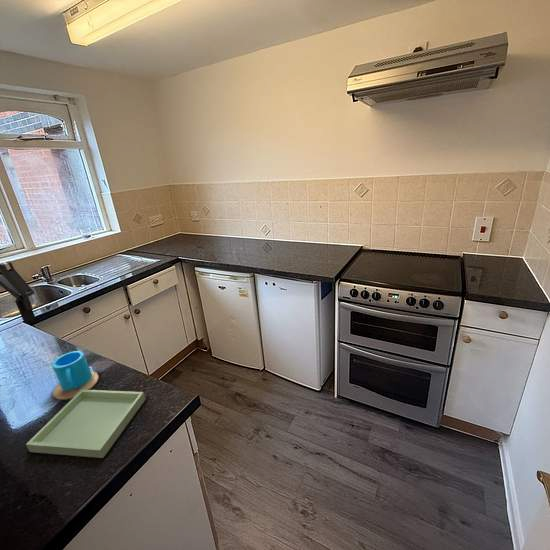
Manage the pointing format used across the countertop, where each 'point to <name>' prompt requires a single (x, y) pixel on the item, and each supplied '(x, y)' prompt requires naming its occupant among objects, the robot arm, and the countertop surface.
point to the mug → (72, 370)
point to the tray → (88, 424)
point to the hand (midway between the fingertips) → (8, 320)
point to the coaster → (69, 394)
